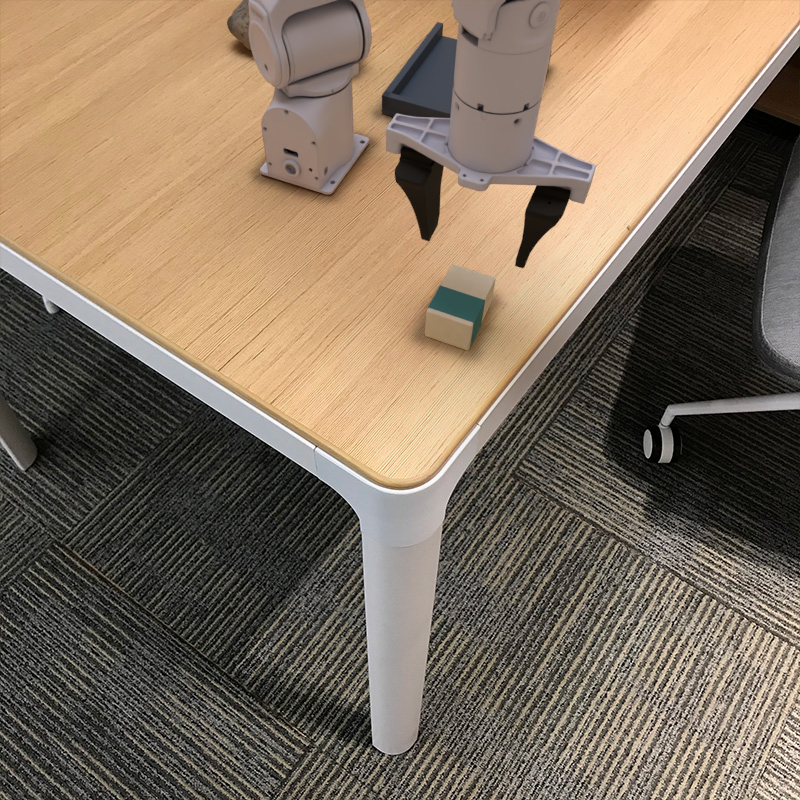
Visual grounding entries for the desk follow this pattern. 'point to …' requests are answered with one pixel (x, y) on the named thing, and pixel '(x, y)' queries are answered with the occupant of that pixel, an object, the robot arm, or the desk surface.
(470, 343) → the eraser
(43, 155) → the desk surface
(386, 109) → the tray
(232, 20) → the stone
